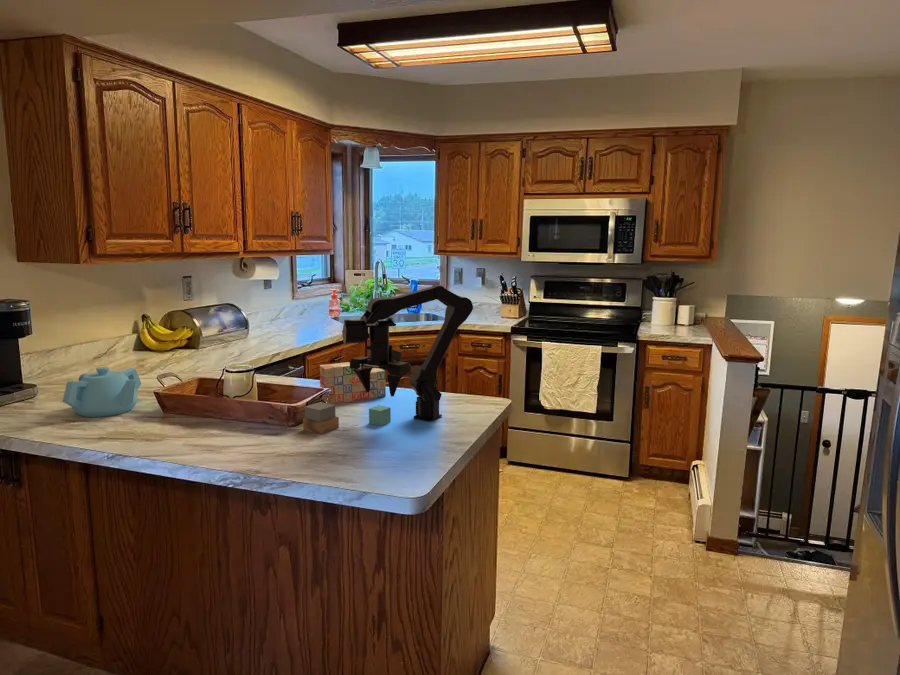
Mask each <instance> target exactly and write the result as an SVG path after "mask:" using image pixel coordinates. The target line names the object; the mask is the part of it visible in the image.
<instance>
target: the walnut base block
mask: <svg viewBox="0 0 900 675" xmlns="http://www.w3.org/2000/svg"><path fill="white" fill-rule="evenodd" d="M339 417H340V416H336V417H334V418H331V419H328V420H325V421H322V422H317V421H313V420H309V419H305V417H304V418H303V419H302V428H303V430H304V431H306V430H307V432H309V433H310V432H311V433H314V434H318V435H324V434H326V433H329V432H331V431H334V430H337V429H339V428H340V426H339V425H340V424H339V423H340V420H339Z"/></svg>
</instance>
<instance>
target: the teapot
mask: <svg viewBox="0 0 900 675" xmlns="http://www.w3.org/2000/svg"><path fill="white" fill-rule="evenodd" d="M95 370H96V372H91V373H89V372H86V373H82V374H80V375H79V377H78V381H77V380H76V381H67V382H66V385H65V389H64V394H63V398H62V402H63V403H64V404H67V405H68V406H70V407H71V409H72V411H74V412H75V413H76V414H77V415H79V416H81V417H85V418H103V417H104V418H105V417H111V416H116V414H117V415H120V414H124V412H125V413H127V411H128V412H129V410H130V411H131V410H133V409H134V408H135V407H136V405H137V403H138V401H139V395H138V392H137V391H138V389H139V388H140V387H141V386H142V381H141V379H140V377H139V374H138V371H137V368H134V367H133V368H132V367H129V368H127V369H125V370H123V371H118V370H110V367H109V366H99V367H97V368H95ZM132 408H133V409H132Z"/></svg>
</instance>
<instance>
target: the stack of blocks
mask: <svg viewBox="0 0 900 675" xmlns="http://www.w3.org/2000/svg"><path fill="white" fill-rule="evenodd" d="M386 381H387V380H386V371H385V369H379V368H372V370H371V372H370V391H369V392H366V390H365V388H364V386H363V384H362V383H361V381H360V379H359V377H358V376H357V374H356V372H354V371H353V368H350V361H347V362H337V363H329V364H320V365H319V387H322V388H330V389H331V391H330V393H329V396H328V400H327V404H337V403H346V402H353V401H361V400H369V399H370V400H371V399H378V398H385V397H386V395H387V392H386V391H387V390H386V389H387V388H386V386H387V385H386V384H387V383H386Z"/></svg>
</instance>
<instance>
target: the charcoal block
mask: <svg viewBox="0 0 900 675" xmlns="http://www.w3.org/2000/svg"><path fill="white" fill-rule="evenodd" d="M334 417H337V416H336V405H335V404H333V403H331V404H327V403H324V402H323V401H319V402H315V403H312V404H309V405H305V406H304V418H305V419H309V420H313V421H317V422H322V421H325V420H328V419H331V418H334Z"/></svg>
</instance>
